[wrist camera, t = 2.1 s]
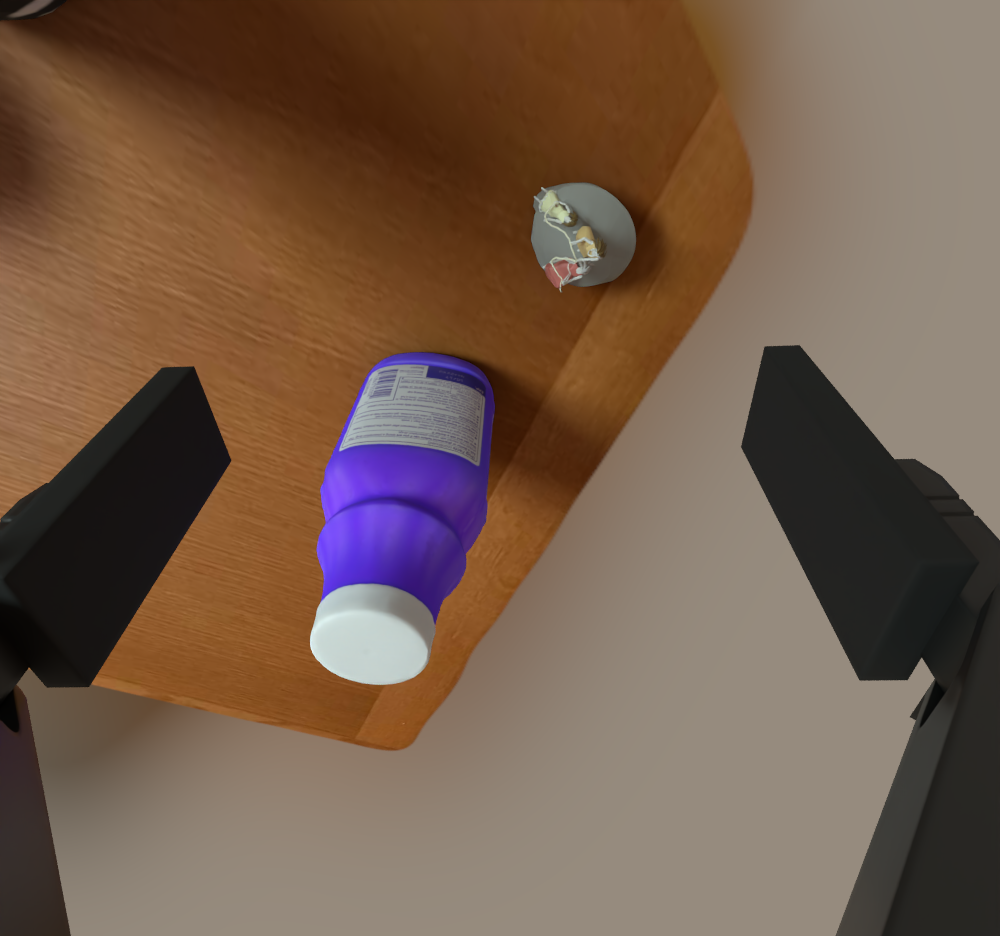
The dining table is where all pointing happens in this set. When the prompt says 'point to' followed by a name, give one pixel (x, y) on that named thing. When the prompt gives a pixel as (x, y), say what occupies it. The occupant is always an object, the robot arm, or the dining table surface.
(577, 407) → the dining table surface
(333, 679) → the dining table surface
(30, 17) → the white-spotted black cylinder
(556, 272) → the figurine
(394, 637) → the bottle
